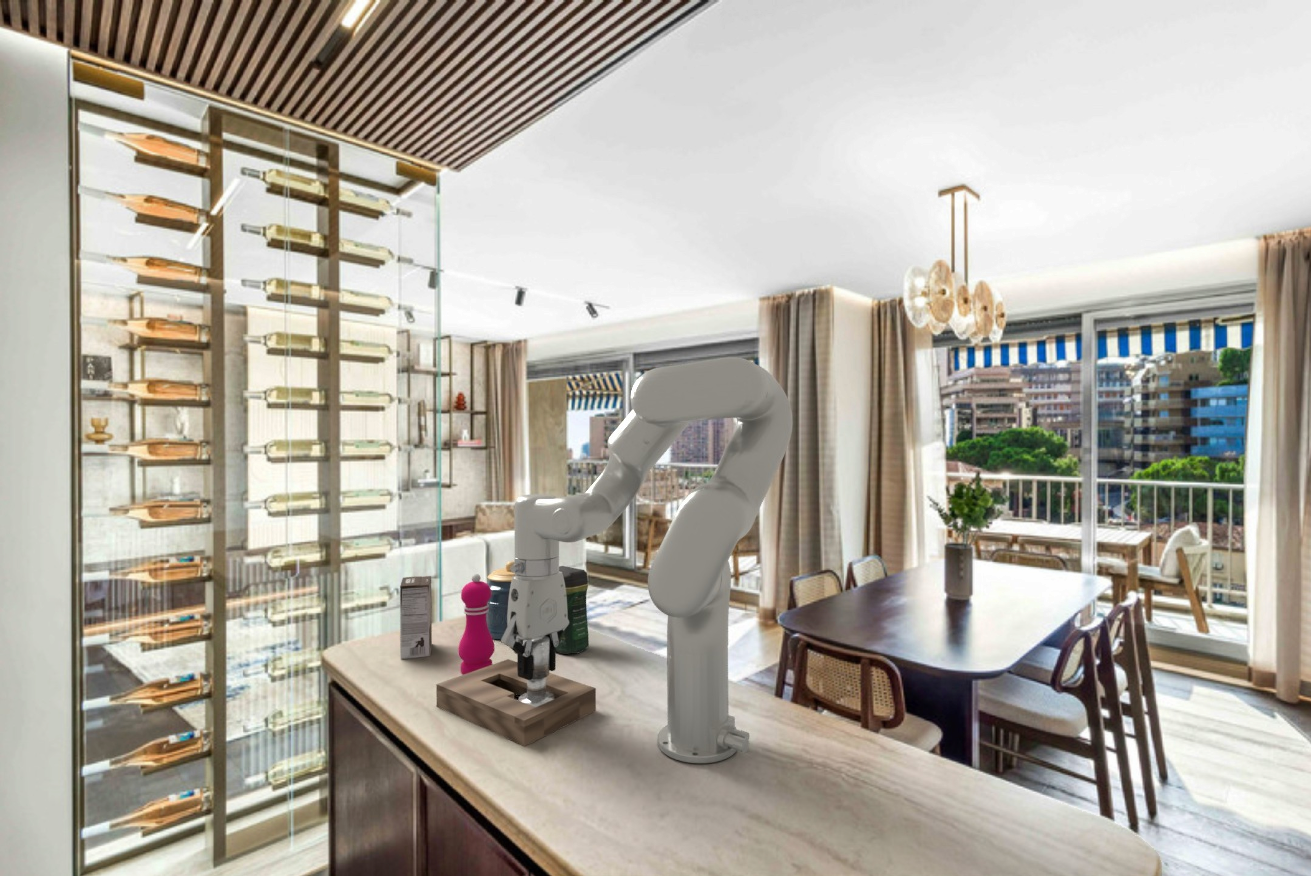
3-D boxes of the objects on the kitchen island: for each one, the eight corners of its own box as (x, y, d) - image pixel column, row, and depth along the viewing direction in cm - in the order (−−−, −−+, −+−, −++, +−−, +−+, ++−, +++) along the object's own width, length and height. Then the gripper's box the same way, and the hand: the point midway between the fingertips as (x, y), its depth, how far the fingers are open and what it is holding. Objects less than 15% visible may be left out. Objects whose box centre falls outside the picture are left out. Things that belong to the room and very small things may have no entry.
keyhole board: (595, 710, 110) (595, 687, 110) (524, 746, 97) (524, 720, 97) (508, 679, 125) (508, 659, 125) (436, 706, 112) (436, 683, 112)
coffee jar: (594, 648, 143) (594, 567, 143) (567, 657, 137) (567, 572, 137) (567, 639, 149) (566, 561, 149) (540, 648, 143) (540, 567, 143)
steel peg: (561, 708, 108) (561, 638, 108) (534, 720, 103) (534, 647, 103) (538, 699, 112) (538, 631, 112) (511, 710, 107) (511, 640, 107)
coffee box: (402, 646, 145) (402, 576, 145) (432, 643, 147) (432, 574, 147) (399, 659, 136) (398, 585, 136) (430, 656, 138) (430, 583, 138)
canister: (545, 634, 153) (545, 562, 153) (493, 644, 146) (493, 568, 146) (527, 621, 164) (526, 554, 164) (477, 630, 157) (477, 559, 157)
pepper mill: (499, 664, 133) (499, 570, 133) (487, 677, 126) (486, 578, 126) (466, 663, 133) (466, 570, 134) (452, 676, 126) (451, 577, 126)
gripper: (511, 578, 98) (511, 694, 98) (587, 561, 112) (587, 664, 112) (482, 572, 103) (482, 683, 103) (558, 556, 116) (558, 655, 116)
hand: (536, 672), depth 107 cm, fingers closed on steel peg, 4 cm apart
